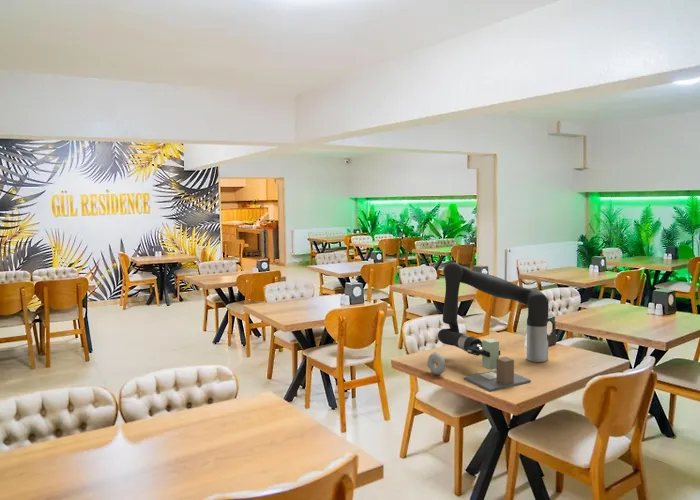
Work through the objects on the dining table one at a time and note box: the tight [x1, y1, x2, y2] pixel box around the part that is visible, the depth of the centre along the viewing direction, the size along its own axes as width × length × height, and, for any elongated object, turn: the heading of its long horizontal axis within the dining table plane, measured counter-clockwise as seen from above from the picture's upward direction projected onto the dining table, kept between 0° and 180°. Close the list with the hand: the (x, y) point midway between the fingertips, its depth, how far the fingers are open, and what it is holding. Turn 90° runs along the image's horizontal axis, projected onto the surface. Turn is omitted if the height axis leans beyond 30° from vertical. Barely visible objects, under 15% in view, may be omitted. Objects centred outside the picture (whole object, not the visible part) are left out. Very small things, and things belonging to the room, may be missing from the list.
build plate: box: [463, 356, 532, 392], centre depth 231 cm, size 22×17×11 cm
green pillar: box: [481, 337, 500, 371], centre depth 234 cm, size 5×5×12 cm
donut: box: [427, 352, 446, 376], centre depth 241 cm, size 10×4×10 cm, turn 34°
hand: (494, 354), depth 232 cm, fingers closed on green pillar, 5 cm apart
